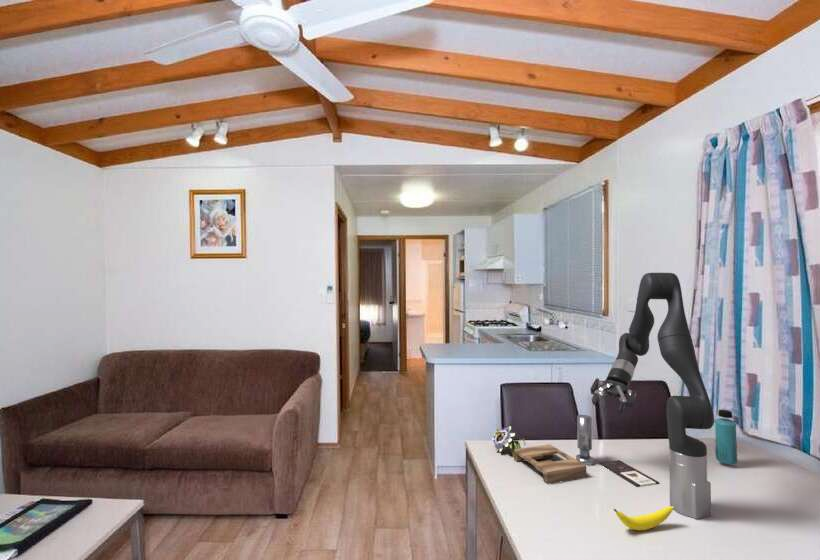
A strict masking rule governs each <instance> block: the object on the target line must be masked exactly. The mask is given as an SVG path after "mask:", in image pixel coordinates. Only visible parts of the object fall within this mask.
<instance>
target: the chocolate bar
mask: <svg viewBox="0 0 820 560" xmlns="http://www.w3.org/2000/svg"><path fill="white" fill-rule="evenodd" d="M598 465H600V466H601V467H603V466H604V468H605V469H606V468H607V469H606V470H608V469H609V470H608V471H610V472H612V473H613V474H615V475H616V476H618V477H619V478H621V479H623V480H625V481H626V482H628V483H629V484H631V485H632V486H634V487H636V488H639V487H640V486H641V487H645V486H646V487H648V486H653V485H654V484H655V485H659V484H660V481H658V480H656V479H654V478H653V477H651V476H649V475H647V474H646V473H644V472H642V471H640V470H639V469H636V468H635V467H633V466H631V465H629V464H628V463H625V462H624V461H621V460H620V459H618V460H611V461H610V460H609V461H602V462H601V461H600V462H599V463H598ZM647 485H648V486H647Z"/></svg>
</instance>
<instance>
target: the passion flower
mask: <svg viewBox="0 0 820 560" xmlns="http://www.w3.org/2000/svg"><path fill="white" fill-rule="evenodd" d="M511 430H512V426H511V425H509V426H508V427H503V428H501V429H500V428H497V429H496V430H495V432H494V433H493V437H491V440H492V441H493V443H494V448H495V449H496V451H495V452H496V453H499V452H500V453H502V452H503V451H504V449H505V448H508V447H509V449H510V451H511V455H512V457H514V449H521V448H522V447H521V443H520V442H519V439H517V440H516V439H515V440H514V437H515V436H516V433H515V432H511ZM520 441H523V445H524V446H526V445H527V444H526V440H525V438H522V439H520Z"/></svg>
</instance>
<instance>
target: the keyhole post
mask: <svg viewBox="0 0 820 560" xmlns="http://www.w3.org/2000/svg"><path fill="white" fill-rule="evenodd" d="M576 418H577V419H576V421H577V422H576V423H577V424H576V425H577V426H576V427H577V428H576V429H577V432H576V433H577V435H576V436H577V441H576V442H577V449H579V454H576V456H575V459H576V460H577V461H579V462H581V463H583V464H584V465H587V466H586V467H591V466H590V465H592V466H593V465H594V463H595V462H594V461H595V460H594V457H593V456H591V453H590V451H591V450H592V449H593V437H592V436H593V433H592V432H593V428H592V427H593V425H592V424H593V423H592V422H593V419H592V416H590V415H587V414H577V417H576Z"/></svg>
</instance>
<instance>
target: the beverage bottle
mask: <svg viewBox="0 0 820 560" xmlns="http://www.w3.org/2000/svg"><path fill="white" fill-rule="evenodd" d="M717 414H718V415H717V416H719V417H720V418H717V419H715V420H714V422H715V424H714V425H715V427H714V428H715V431H714V434H715V442H714V444H715V459H716V460H717V461H718V462H720V463H723V464H726V465H737V463H738V460H739V459H738V449H737V448H738V444H737V442H738V441H737V423H736V422H735V421H733V420H732V418H733V412H732V410H727V409H719V410H718V413H717Z"/></svg>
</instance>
